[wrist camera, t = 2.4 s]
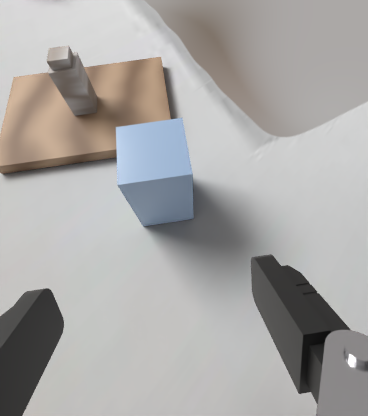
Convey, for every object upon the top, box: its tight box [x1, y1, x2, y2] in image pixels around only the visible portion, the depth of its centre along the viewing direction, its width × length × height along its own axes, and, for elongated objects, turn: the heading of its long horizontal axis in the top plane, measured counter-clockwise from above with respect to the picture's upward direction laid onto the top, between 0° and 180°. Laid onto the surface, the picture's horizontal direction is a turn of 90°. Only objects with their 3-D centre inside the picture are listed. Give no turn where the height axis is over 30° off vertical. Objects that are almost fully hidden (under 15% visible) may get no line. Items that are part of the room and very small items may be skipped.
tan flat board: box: [0, 46, 171, 174], centre depth 29 cm, size 22×16×8 cm
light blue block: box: [116, 118, 194, 226], centre depth 23 cm, size 6×6×9 cm
